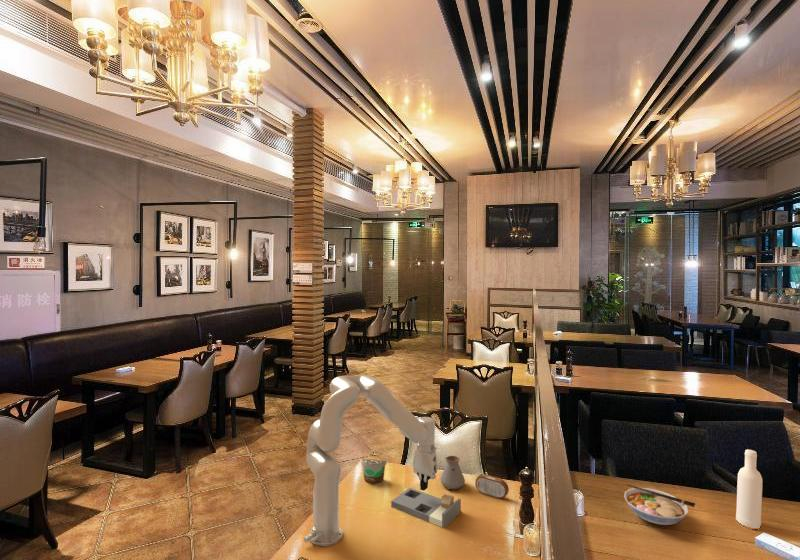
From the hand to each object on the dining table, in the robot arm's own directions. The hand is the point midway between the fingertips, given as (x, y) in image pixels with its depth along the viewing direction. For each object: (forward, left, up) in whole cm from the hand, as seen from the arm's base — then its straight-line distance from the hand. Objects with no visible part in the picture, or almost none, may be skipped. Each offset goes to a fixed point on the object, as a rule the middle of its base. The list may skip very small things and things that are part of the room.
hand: (423, 489), depth 190 cm
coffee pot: (+18, -4, -7) cm, 20 cm away
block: (+2, -11, -5) cm, 12 cm away
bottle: (+65, -113, -7) cm, 131 cm away
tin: (+25, -20, -7) cm, 33 cm away
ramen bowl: (+47, -82, -7) cm, 95 cm away
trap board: (-2, -2, -7) cm, 8 cm away
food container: (+3, +31, -7) cm, 32 cm away
